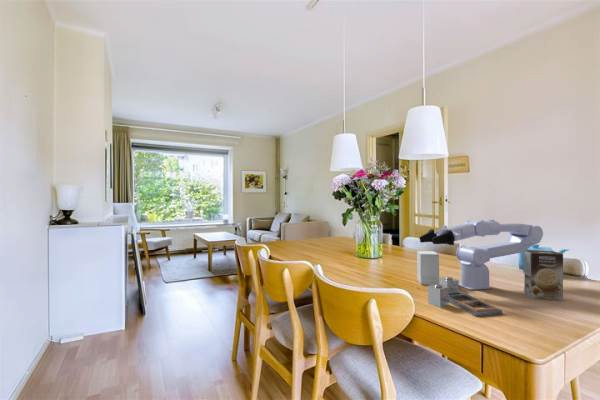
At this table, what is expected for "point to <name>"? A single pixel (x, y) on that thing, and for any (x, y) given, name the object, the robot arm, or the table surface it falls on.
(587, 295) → the table surface
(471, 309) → the grey compartment tray
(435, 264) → the supplement box
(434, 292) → the grey upright block
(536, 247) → the teapot
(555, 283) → the coffee box
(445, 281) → the grey rectangular block
